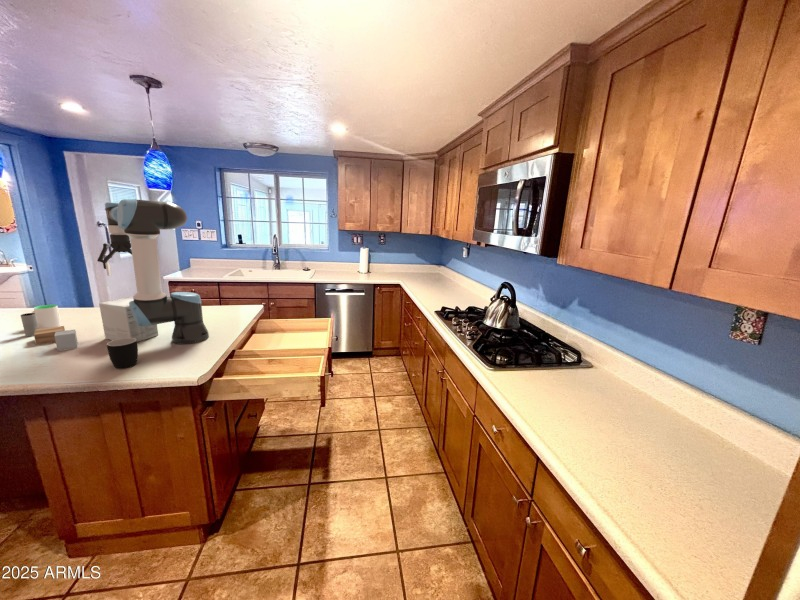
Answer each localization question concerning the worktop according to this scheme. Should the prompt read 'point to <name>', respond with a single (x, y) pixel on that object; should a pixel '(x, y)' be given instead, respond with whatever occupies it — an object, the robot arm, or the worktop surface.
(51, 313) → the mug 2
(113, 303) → the supplement box
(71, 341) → the slate block
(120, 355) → the mug
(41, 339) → the walnut block
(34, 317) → the grey tall cylinder
